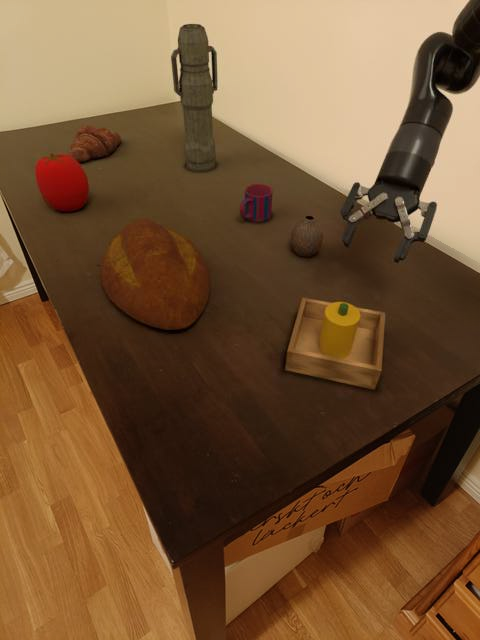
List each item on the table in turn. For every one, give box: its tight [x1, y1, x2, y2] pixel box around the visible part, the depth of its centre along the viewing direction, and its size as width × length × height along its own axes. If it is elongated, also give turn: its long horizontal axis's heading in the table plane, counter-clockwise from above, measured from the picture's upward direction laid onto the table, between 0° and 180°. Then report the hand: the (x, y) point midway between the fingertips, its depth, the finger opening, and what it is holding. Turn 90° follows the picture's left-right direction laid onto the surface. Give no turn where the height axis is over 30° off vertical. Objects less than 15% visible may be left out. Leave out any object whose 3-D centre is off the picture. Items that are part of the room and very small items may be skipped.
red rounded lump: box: [34, 152, 90, 213], centre depth 106 cm, size 13×11×14 cm
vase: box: [290, 214, 324, 258], centre depth 93 cm, size 7×7×9 cm
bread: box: [99, 218, 212, 331], centre depth 83 cm, size 21×33×12 cm, turn 21°
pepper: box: [319, 301, 360, 359], centre depth 71 cm, size 6×6×10 cm
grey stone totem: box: [170, 23, 219, 172], centre depth 116 cm, size 9×12×35 cm
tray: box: [284, 297, 386, 390], centre depth 73 cm, size 15×14×5 cm
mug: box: [239, 183, 273, 223], centre depth 104 cm, size 7×10×7 cm
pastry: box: [68, 125, 122, 163], centre depth 133 cm, size 17×15×8 cm
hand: (370, 253), depth 71 cm, fingers open, 8 cm apart
